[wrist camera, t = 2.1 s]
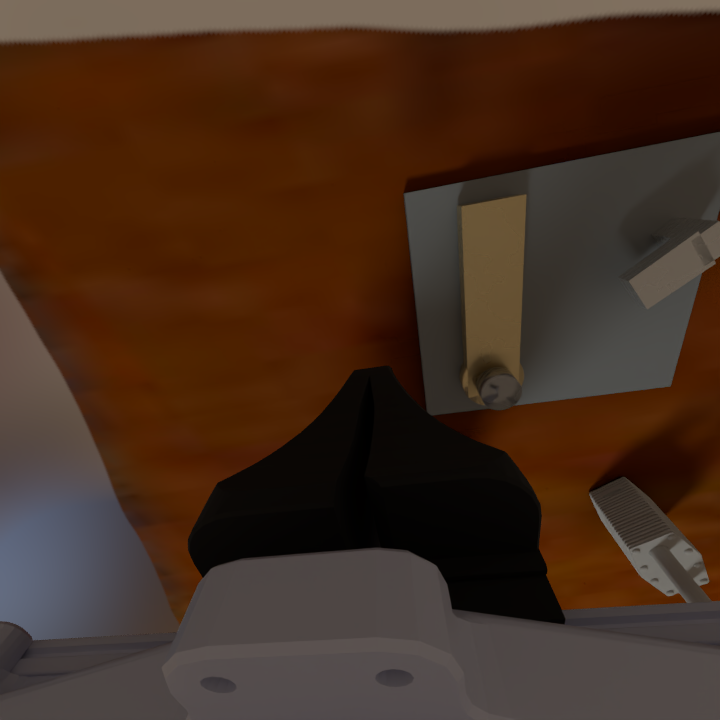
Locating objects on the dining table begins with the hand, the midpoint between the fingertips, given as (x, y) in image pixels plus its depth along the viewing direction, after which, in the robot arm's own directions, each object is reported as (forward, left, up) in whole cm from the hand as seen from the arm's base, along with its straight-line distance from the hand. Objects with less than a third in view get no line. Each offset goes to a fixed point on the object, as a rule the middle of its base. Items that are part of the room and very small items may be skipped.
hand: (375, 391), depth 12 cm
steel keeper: (+1, -15, -9) cm, 17 cm away
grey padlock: (-20, -18, -10) cm, 28 cm away
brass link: (-1, -7, -8) cm, 11 cm away
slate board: (-1, -10, -9) cm, 14 cm away
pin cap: (-5, -7, -7) cm, 11 cm away
